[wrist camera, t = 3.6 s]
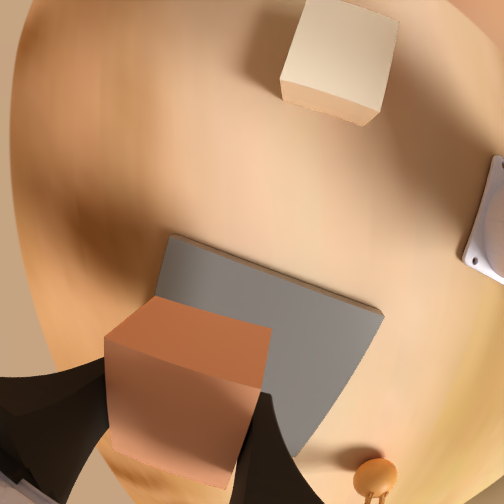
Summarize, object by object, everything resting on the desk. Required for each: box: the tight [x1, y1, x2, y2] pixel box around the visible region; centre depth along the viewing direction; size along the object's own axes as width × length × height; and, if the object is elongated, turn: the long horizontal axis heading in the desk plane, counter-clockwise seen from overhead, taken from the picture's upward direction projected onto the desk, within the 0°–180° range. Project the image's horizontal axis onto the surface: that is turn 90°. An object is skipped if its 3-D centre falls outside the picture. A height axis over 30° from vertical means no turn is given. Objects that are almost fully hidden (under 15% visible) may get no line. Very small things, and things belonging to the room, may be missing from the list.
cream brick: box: [280, 0, 399, 127], centre depth 14 cm, size 5×6×4 cm
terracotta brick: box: [104, 296, 272, 490], centre depth 11 cm, size 5×6×4 cm
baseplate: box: [154, 234, 385, 457], centre depth 20 cm, size 14×14×1 cm
